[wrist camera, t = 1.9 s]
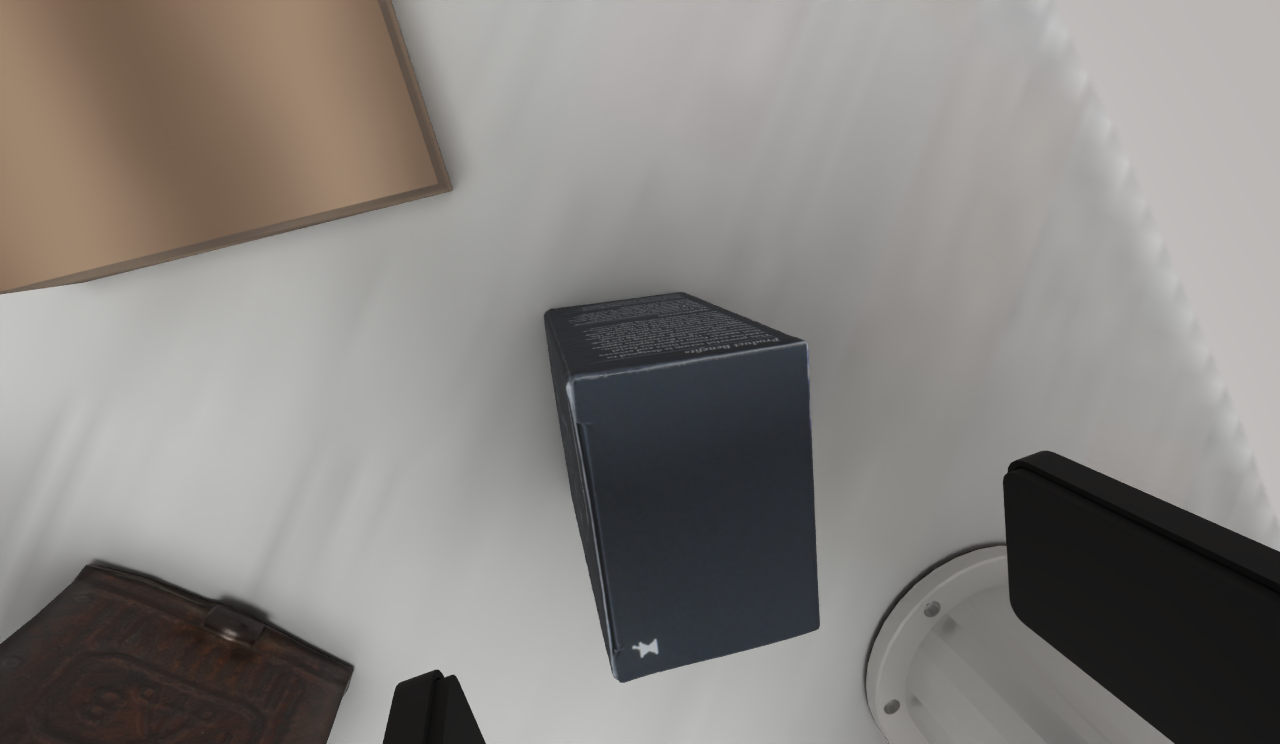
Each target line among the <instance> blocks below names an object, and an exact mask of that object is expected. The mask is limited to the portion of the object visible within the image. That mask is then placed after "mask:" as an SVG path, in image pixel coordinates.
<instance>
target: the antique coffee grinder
mask: <svg viewBox="0 0 1280 744" xmlns="http://www.w3.org/2000/svg"><path fill="white" fill-rule="evenodd" d="M353 670H354V669H352V668H350V667H348V666H346V665H344V664H342V663H340V662H338V661H336V660H334V659H332V658H330V657H328V656H326V655H324V654H322V653H320V652H318V651H316V650H314V649H312V648H310V647H308V646H306V645H304V644H302V643H300V642H298V641H296V640H294V639H292V638H290V637H288V636H286V635H285V634H283V633H281V632H279V631H277V630H275V629H273V628H271V627H269V626H267V625H266V624H264V623H262V622H260V621H258V620H256V619H254V618H252V617H250V616H248V615H246V614H244V613H242V612H239V611H237V610H234V609H232V608H229V607H227V606H224V605H222V604H219V603H214V602H208V601H205V600H203V599H200V598H198V597H195V596H192V595H190V594H187V593H185V592H182V591H179V590H177V589H174V588H172V587H169V586H167V585H164V584H161V583H159V582H156V581H154V580H151V579H148V578H144V577H140V576H136V575H132V574H128V573H124V572H120V571H116V570H112V569H108V568H104V567H101V566H97V565H93V564H89V565H86V566H85V567H84V568H83V569H82V571H81V572H80V573H79V574H78V576H77V577H76V578H75V579H74V581H73V582H72V583H71V584H70V585H69V586H68V587H67V588H66V589H65V590H64V591H63V592H61V593H60V594H59V595H58V596H57V597H56V598H55V599H54V600H53V601H51V602H50V603H49V604H48V605H47V606H46V607H45V608H44V609H43V610H41V611H40V612H39V613H38V614H37V615H36V616H35V617H33V618H32V619H31V620H30V621H28V622H27V623H26V624H25V625H23V626H22V627H21V628H20V629H19V630H17V631H16V632H15V633H14V634H12V635H11V636H10V637H9V638H7V639H6V640H5V641H4V642H2V643H1V644H0V744H326V743H327V740H328V737H329V734H330V732H331V729H332V726H333V723H334V720H335V717H336V714H337V711H338V708H339V705H340V703H341V700H342V697H343V696H344V694H345V693H346V692H347V690H348V687H349V683H350V680H351V677H352V673H353Z"/></svg>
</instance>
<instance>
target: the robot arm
mask: <svg viewBox="0 0 1280 744" xmlns="http://www.w3.org/2000/svg"><path fill="white" fill-rule="evenodd" d="M1003 490H1004V508H1005V527H1006V545H1007V546H995V547H989V548H983V549H978V550H975V551H973V552H970V553H967V554H964V555H962V556H959V557H956V558H954V559H953V560H951V561H949V562H947V563H945V564H944V565H942V566H940V567H938V568H936V569H935V570H933V571H932V572H931V573H930V574H928V575H927V576H926V577H924V578H923V579H922V580H921V581H919V582H918V583H917V584H915V585H914V586H913V588H912V589H911V590H910V591H909V592H908V593H907V594H906V595H905V596H904V597H903V598H902V599H901V600H900V601H899V602H898V604H897V605H896V606H895V608H894V609H893V611H892V612H891V613H890V615H889V616H888V618H887V619H886V621H885V622H884V624H883V626H882V628H881V630H880V632H879V634H878V636H877V638H876V640H875V642H874V645H873V649H872V652H871V655H870V659H869V662H868V668H867V678H866V690H867V699H868V705H869V708H870V710H871V713H872V716H873V719H874V721H875V722H876V724H877V725H878V727H879V728H880V729H881V731H882V732H883V734H884V735H885V737H886V738H887V740H888V741H889V742H890V743H891V744H1280V552H1279V551H1277V550H1274V549H1272V548H1270V547H1268V546H1265V545H1263V544H1261V543H1258V542H1256V541H1254V540H1252V539H1249V538H1247V537H1245V536H1243V535H1240V534H1238V533H1236V532H1233V531H1231V530H1229V529H1227V528H1224V527H1222V526H1220V525H1218V524H1215V523H1213V522H1211V521H1208V520H1206V519H1204V518H1202V517H1199V516H1197V515H1195V514H1193V513H1190V512H1188V511H1186V510H1183V509H1181V508H1179V507H1177V506H1174V505H1172V504H1170V503H1168V502H1165V501H1163V500H1161V499H1158V498H1156V497H1154V496H1152V495H1149V494H1147V493H1145V492H1142V491H1140V490H1138V489H1136V488H1133V487H1131V486H1129V485H1127V484H1124V483H1122V482H1120V481H1117V480H1115V479H1113V478H1111V477H1108V476H1106V475H1104V474H1102V473H1099V472H1097V471H1095V470H1092V469H1090V468H1088V467H1086V466H1083V465H1081V464H1079V463H1077V462H1074V461H1072V460H1070V459H1067V458H1065V457H1063V456H1061V455H1058V454H1056V453H1054V452H1050V451H1041V452H1038V453H1035V454H1032V455H1030V456H1027V457H1024V458H1021V459H1019V460H1016V461H1014V462H1012V463H1011V464H1010V465H1009V467H1008V473H1007V474H1006V475H1005V476H1004V479H1003ZM383 744H486V743H485V741H484V739H483V736H482V734H481V732H480V729H479V727H478V725H477V722H476V720H475V718H474V715H473V713H472V711H471V708H470V706H469V704H468V702H467V699H466V697H465V695H464V692H463V690H462V688H461V685H460V683H459V681H458V679H457V677H456V676H455V675H450V676H448V677H445V678H444V676H443V674H442V673H441V672H440V671H439V670H434V671H431V672H428V673H425V674H422V675H420V676H417V677H414V678H411V679H409V680H406V681H403V682H400V683H399V684H398V685H397V686H396V689H395V692H394V696H393V700H392V705H391V709H390V714H389V718H388V722H387V727H386V731H385V736H384V740H383Z"/></svg>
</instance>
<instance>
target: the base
mask: <svg viewBox="0 0 1280 744" xmlns="http://www.w3.org/2000/svg"><path fill="white" fill-rule="evenodd" d="M449 191H453V189H452V186H451V183H450V180H449V177H448V174H447V171H446V168H445V165H444V162H443V159H442V155H441V152H440V149H439V146H438V143H437V140H436V137H435V134H434V131H433V128H432V125H431V122H430V119H429V116H428V112H427V109H426V106H425V103H424V100H423V97H422V94H421V91H420V88H419V85H418V82H417V79H416V76H415V73H414V70H413V66H412V63H411V60H410V57H409V54H408V51H407V48H406V45H405V42H404V39H403V36H402V33H401V30H400V27H399V23H398V20H397V17H396V14H395V11H394V8H393V5H392V2H391V0H0V294H6V293H13V292H20V291H27V290H34V289H41V288H48V287H55V286H62V285H69V284H76V283H83V282H87V281H91V280H95V279H99V278H103V277H107V276H111V275H115V274H119V273H123V272H127V271H131V270H135V269H139V268H143V267H148V266H152V265H156V264H160V263H164V262H168V261H172V260H176V259H180V258H184V257H188V256H192V255H196V254H200V253H204V252H208V251H212V250H216V249H220V248H224V247H228V246H232V245H236V244H240V243H244V242H248V241H252V240H256V239H260V238H264V237H268V236H272V235H276V234H280V233H284V232H288V231H292V230H296V229H300V228H304V227H308V226H312V225H316V224H320V223H325V222H329V221H333V220H337V219H341V218H345V217H349V216H353V215H357V214H361V213H365V212H369V211H373V210H377V209H381V208H385V207H389V206H393V205H397V204H401V203H405V202H409V201H413V200H417V199H421V198H425V197H429V196H433V195H437V194H441V193H445V192H449Z"/></svg>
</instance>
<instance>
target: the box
mask: <svg viewBox="0 0 1280 744" xmlns="http://www.w3.org/2000/svg"><path fill="white" fill-rule="evenodd" d="M544 321H545V329H546V336H547V343H548V351H549V358H550V365H551V373H552V378H553V384H554V391H555V397H556V404H557V410H558V416H559V422H560V429H561V435H562V441H563V447H564V453H565V459H566V465H567V471H568V477H569V483H570V489H571V495H572V500H573V504H574V509H575V514H576V519H577V522H578V527H579V532H580V536H581V540H582V544H583V549H584V553H585V558H586V563H587V566H588V570H589V576H590V579H591V584H592V590H593V593H594V597H595V601H596V606H597V611H598V615H599V619H600V624H601V629H602V633H603V638H604V642H605V646H606V650H607V654H608V657H609V662H610V665H611V670H612V674H613V676H614V678H615V679H617V680H619V681H620V683H625V682H628V681H631V680H633V679H637V678H640V677H643V676H647V675H650V674H654V673H657V672H662V671H665V670H669V669H673V668H677V667H681V666H685V665H689V664H693V663H697V662H701V661H705V660H709V659H713V658H717V657H722V656H726V655H730V654H733V653H737V652H741V651H745V650H749V649H753V648H757V647H761V646H765V645H769V644H772V643H775V642H779V641H782V640H786V639H790V638H793V637H796V636H800V635H803V634H806V633H809V632H812V631H815V630H817V629H819V626H820V617H819V598H818V579H817V554H816V529H815V508H814V480H813V459H812V436H811V409H810V391H809V357H808V343H807V342H806V341H804V340H801V339H799V338H796V337H792V336H789V335H787V334H784V333H782V332H780V331H777V330H775V329H772V328H770V327H767V326H765V325H762V324H760V323H758V322H755V321H752V320H750V319H748V318H746V317H743V316H740V315H738V314H735V313H733V312H730V311H728V310H725V309H723V308H721V307H719V306H716V305H713V304H711V303H708V302H706V301H703V300H701V299H699V298H697V297H694V296H691V295H689V294H686V293H683V292H679V293H672V294H666V295H656V296H650V297H643V298H635V299H628V300H620V301H613V302H605V303H598V304H590V305H582V306H575V307H567V308H559V309H550V310H549V311H547V312H546V313H545V315H544Z"/></svg>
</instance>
